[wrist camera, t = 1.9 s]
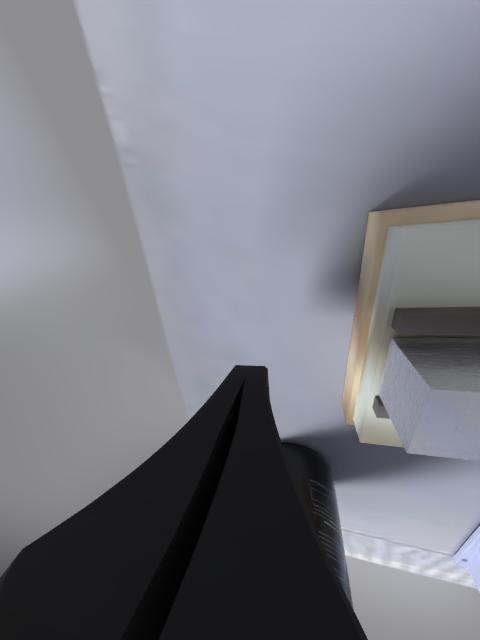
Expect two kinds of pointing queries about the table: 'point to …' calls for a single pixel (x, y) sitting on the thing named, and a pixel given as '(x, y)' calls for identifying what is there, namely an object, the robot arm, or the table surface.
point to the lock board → (409, 298)
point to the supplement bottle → (320, 505)
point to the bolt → (434, 395)
